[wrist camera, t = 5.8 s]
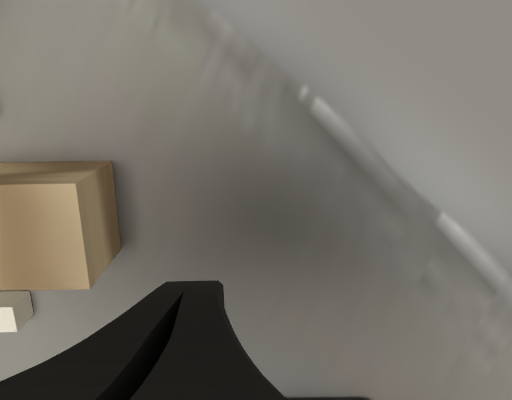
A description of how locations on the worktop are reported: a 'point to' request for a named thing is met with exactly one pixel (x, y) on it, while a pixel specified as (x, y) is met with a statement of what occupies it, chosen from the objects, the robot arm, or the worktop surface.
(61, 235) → the oak block
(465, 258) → the worktop surface
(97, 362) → the robot arm
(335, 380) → the worktop surface
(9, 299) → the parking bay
